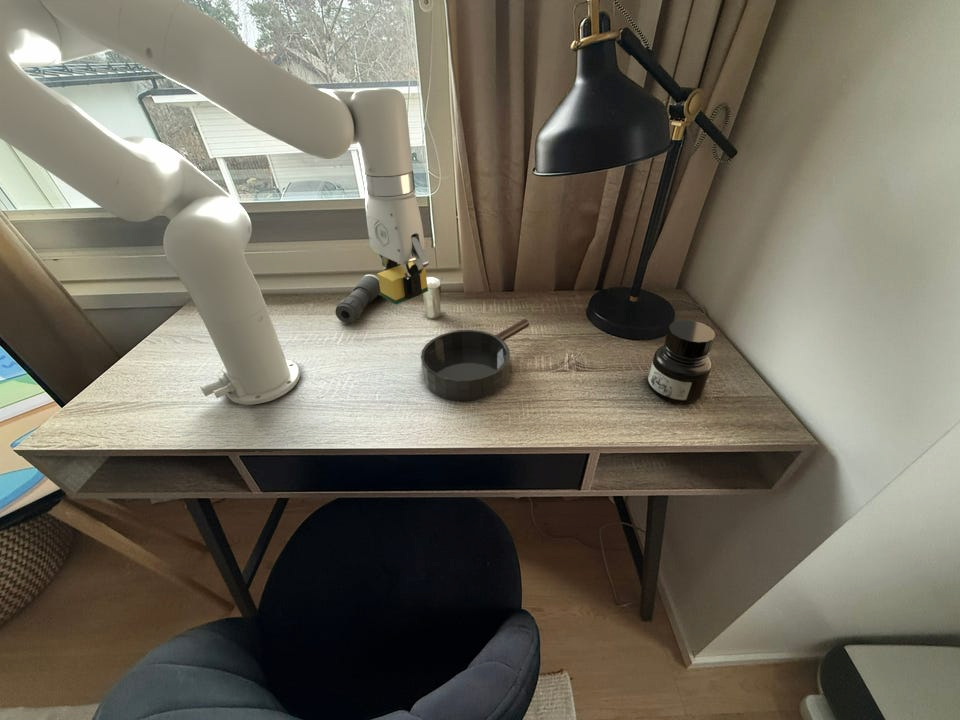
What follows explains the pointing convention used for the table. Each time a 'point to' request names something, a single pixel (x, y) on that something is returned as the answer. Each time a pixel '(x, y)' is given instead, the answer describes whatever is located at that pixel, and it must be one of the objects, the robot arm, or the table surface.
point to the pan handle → (513, 329)
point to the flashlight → (358, 299)
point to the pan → (465, 365)
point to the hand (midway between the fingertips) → (404, 290)
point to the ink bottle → (682, 362)
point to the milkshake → (432, 298)
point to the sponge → (397, 283)
